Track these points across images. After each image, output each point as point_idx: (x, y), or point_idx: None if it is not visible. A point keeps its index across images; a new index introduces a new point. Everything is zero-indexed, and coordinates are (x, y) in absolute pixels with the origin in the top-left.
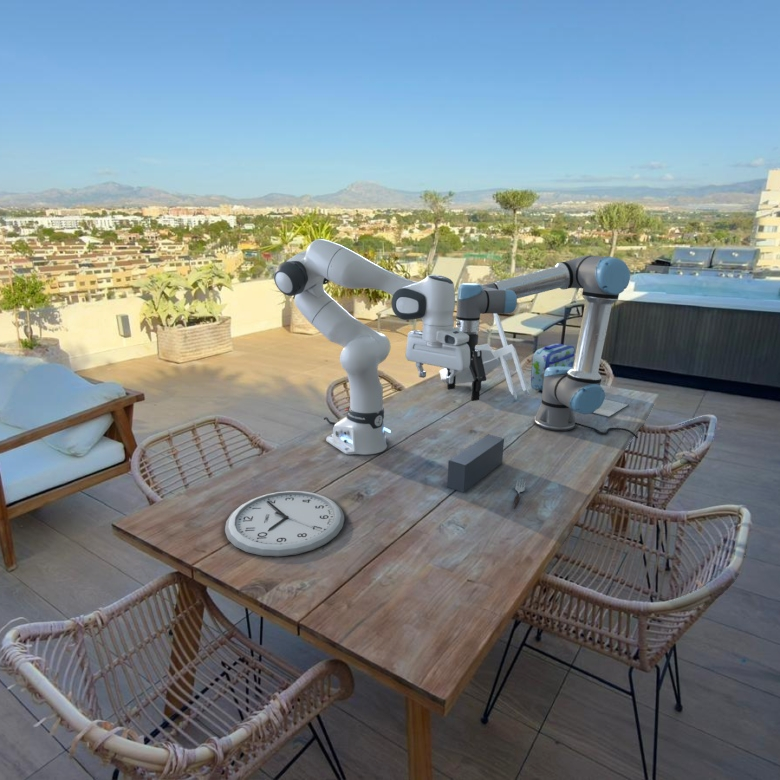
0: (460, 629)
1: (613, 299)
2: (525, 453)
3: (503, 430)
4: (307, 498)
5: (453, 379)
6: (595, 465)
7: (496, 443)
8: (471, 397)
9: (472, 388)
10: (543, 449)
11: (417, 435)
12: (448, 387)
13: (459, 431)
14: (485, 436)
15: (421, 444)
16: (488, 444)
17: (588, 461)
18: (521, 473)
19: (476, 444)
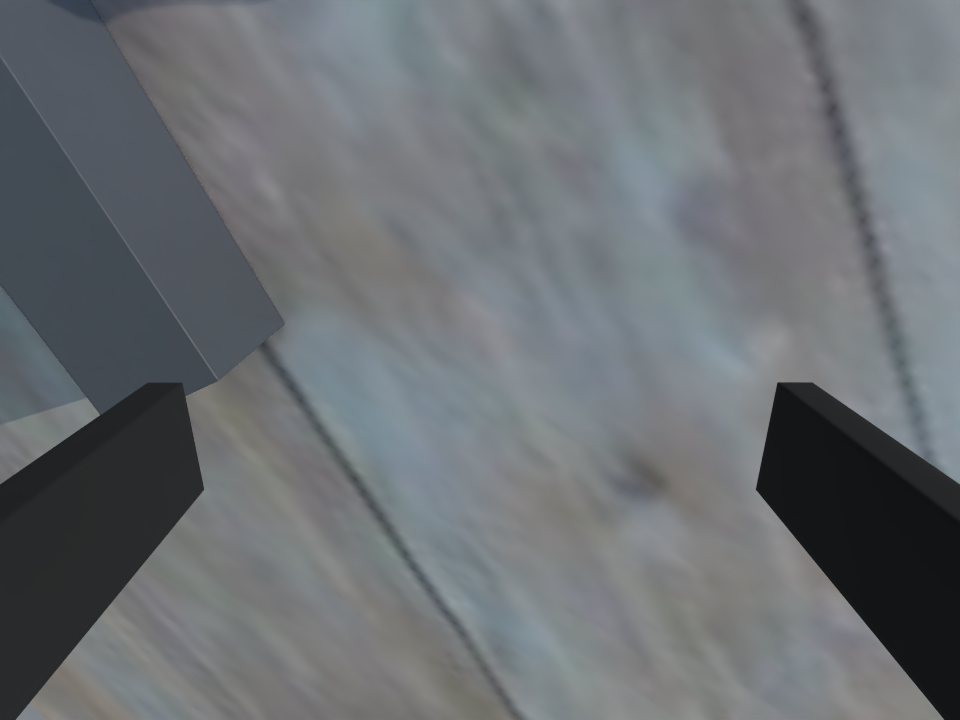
0: None
1: None
2: (270, 534)
3: (564, 618)
4: None
5: (858, 562)
6: (62, 690)
7: (30, 321)
8: (146, 402)
9: (20, 493)
10: (282, 628)
11: (796, 131)
12: (799, 397)
13: (685, 418)
14: (181, 332)
15: (651, 64)
16: (22, 252)
17: (105, 694)
18: (58, 369)
19: (40, 160)
